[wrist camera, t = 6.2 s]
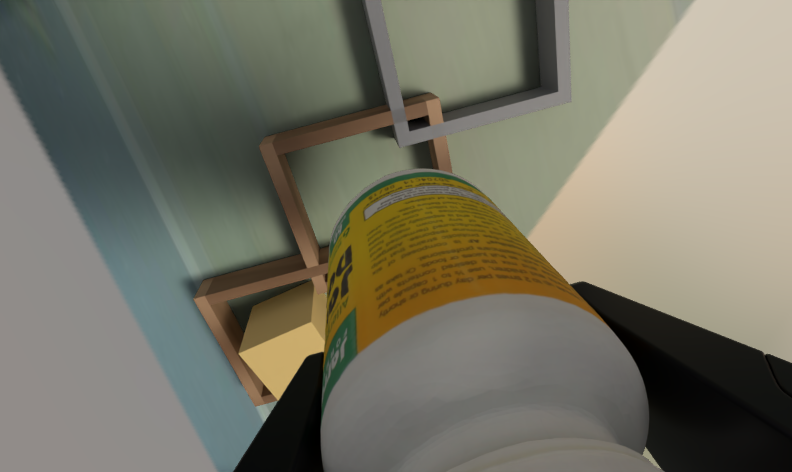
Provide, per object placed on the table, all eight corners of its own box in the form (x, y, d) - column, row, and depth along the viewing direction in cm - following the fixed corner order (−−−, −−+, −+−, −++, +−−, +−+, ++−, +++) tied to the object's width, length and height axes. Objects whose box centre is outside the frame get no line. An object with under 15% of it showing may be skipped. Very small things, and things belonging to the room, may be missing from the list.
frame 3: (553, 96, 20) (571, 101, 19) (394, 138, 20) (399, 147, 19) (542, -109, 17) (564, -123, 15) (348, -57, 17) (349, -67, 15)
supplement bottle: (497, 303, 14) (739, 720, 6) (342, 327, 14) (350, 813, 5) (502, 150, 12) (947, 480, 3) (312, 174, 11) (238, 623, 3)
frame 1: (384, 349, 26) (386, 370, 25) (260, 383, 26) (255, 406, 25) (348, 241, 23) (348, 256, 21) (203, 280, 22) (193, 299, 21)
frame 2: (458, 238, 23) (466, 254, 22) (319, 276, 23) (317, 294, 22) (430, 92, 20) (439, 97, 18) (264, 136, 20) (258, 146, 18)
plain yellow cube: (346, 326, 25) (347, 374, 22) (288, 351, 26) (280, 403, 22) (314, 277, 23) (311, 321, 20) (252, 305, 24) (238, 353, 20)
